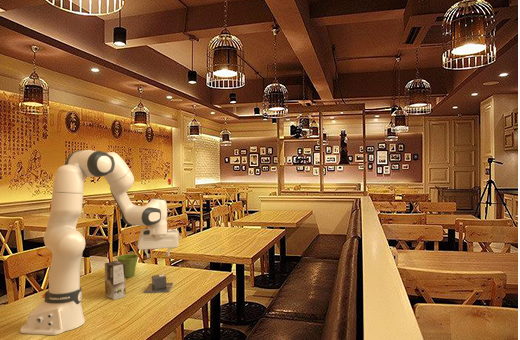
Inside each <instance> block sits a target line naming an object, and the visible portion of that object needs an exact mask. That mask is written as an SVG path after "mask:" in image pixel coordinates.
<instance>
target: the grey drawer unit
mask: <svg viewBox="0 0 520 340" xmlns="http://www.w3.org/2000/svg"><path fill="white" fill-rule="evenodd" d="M151 283H152V286H153V288H154V289H159V288H165V287H167V286H166V283H167V276H166V275H165V274H164V273H161V274H154V275H151Z"/></svg>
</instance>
